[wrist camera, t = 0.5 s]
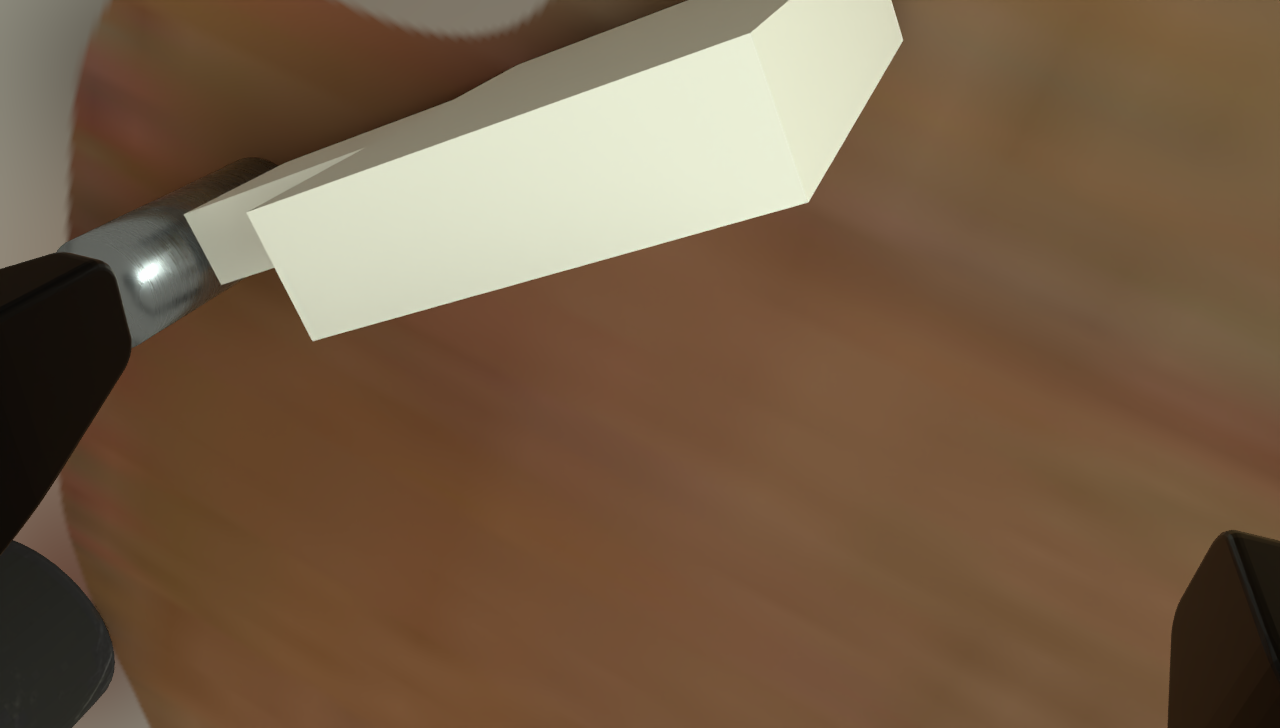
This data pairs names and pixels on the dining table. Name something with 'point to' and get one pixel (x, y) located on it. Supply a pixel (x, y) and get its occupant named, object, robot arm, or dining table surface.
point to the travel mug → (48, 644)
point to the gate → (562, 160)
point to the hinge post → (164, 252)
